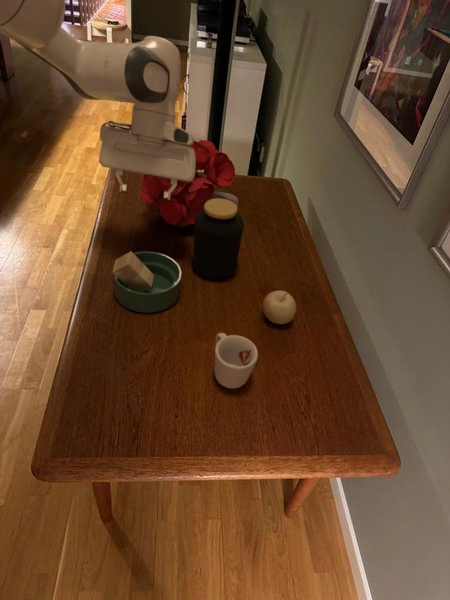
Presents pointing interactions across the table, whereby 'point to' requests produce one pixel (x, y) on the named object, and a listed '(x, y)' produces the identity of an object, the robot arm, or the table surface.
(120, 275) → the plain beige block
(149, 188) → the bouquet
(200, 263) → the container
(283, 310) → the fruit
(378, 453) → the table surface
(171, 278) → the green pet bowl
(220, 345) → the cup
